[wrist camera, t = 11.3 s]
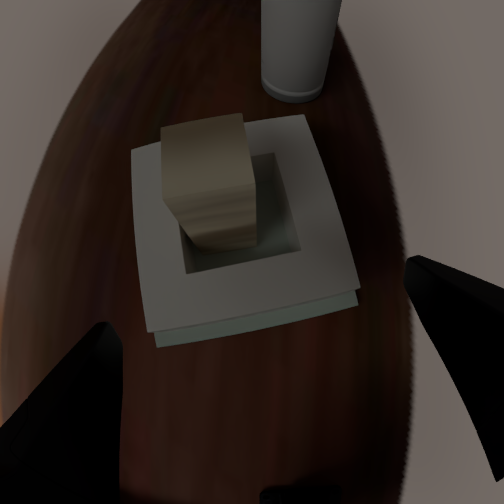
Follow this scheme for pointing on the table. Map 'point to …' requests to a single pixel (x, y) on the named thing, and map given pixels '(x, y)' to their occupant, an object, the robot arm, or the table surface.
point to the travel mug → (296, 46)
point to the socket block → (251, 259)
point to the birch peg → (210, 182)
